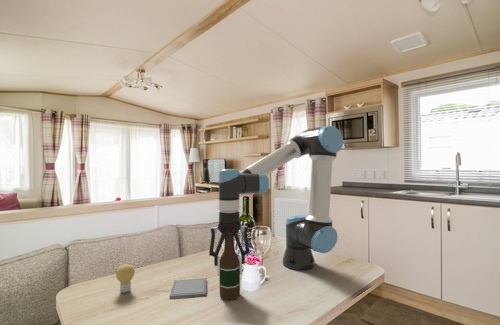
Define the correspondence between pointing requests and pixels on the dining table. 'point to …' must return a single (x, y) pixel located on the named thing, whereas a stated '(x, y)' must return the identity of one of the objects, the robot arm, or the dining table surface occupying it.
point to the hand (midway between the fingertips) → (229, 273)
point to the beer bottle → (229, 271)
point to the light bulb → (125, 277)
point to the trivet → (189, 288)
